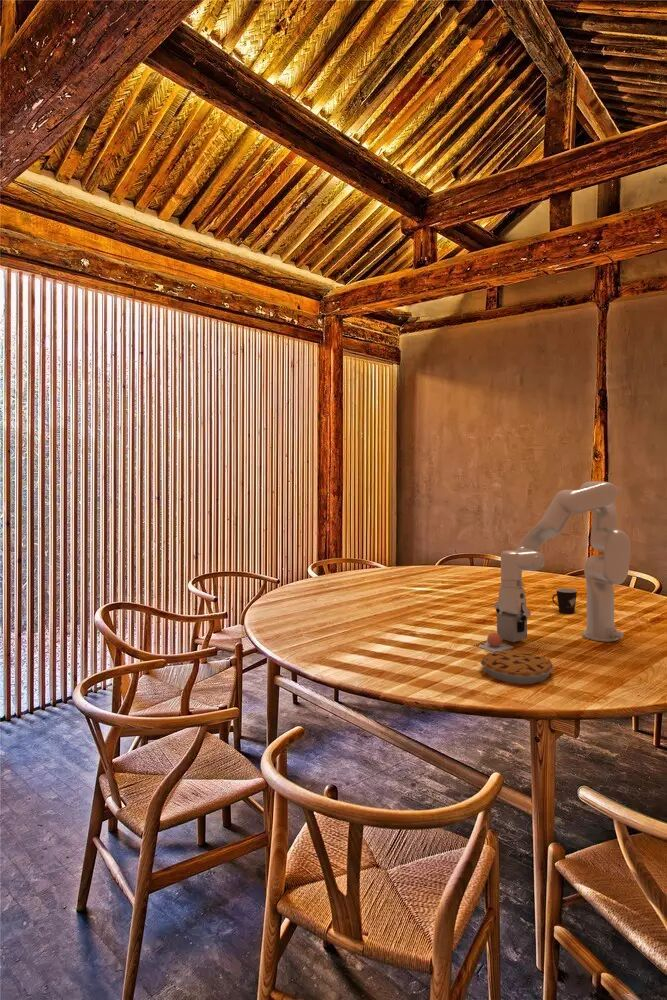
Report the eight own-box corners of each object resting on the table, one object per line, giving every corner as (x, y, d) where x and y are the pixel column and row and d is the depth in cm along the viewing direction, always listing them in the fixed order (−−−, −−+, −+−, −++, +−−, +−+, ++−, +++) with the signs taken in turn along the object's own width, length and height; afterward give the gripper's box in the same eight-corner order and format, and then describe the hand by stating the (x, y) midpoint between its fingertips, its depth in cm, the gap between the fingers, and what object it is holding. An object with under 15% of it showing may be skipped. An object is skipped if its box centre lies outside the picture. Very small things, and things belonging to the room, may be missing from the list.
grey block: (527, 638, 203) (526, 615, 203) (513, 642, 199) (513, 618, 199) (510, 633, 210) (510, 611, 209) (497, 637, 206) (496, 614, 205)
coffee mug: (573, 609, 248) (573, 588, 248) (579, 614, 240) (579, 592, 239) (547, 609, 249) (547, 588, 249) (552, 614, 241) (552, 592, 240)
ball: (493, 638, 196) (496, 650, 197) (502, 632, 198) (505, 644, 199) (483, 635, 200) (486, 647, 201) (492, 629, 202) (494, 641, 203)
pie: (567, 675, 171) (567, 659, 171) (525, 692, 158) (525, 676, 158) (509, 657, 189) (509, 643, 188) (467, 671, 176) (467, 656, 176)
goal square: (513, 647, 198) (513, 646, 198) (495, 652, 193) (495, 652, 193) (492, 640, 206) (492, 640, 206) (474, 645, 201) (474, 645, 201)
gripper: (537, 585, 198) (537, 632, 199) (500, 578, 213) (500, 622, 214) (523, 588, 194) (524, 636, 195) (486, 581, 209) (487, 625, 210)
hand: (511, 628), depth 204 cm, fingers closed on grey block, 7 cm apart
